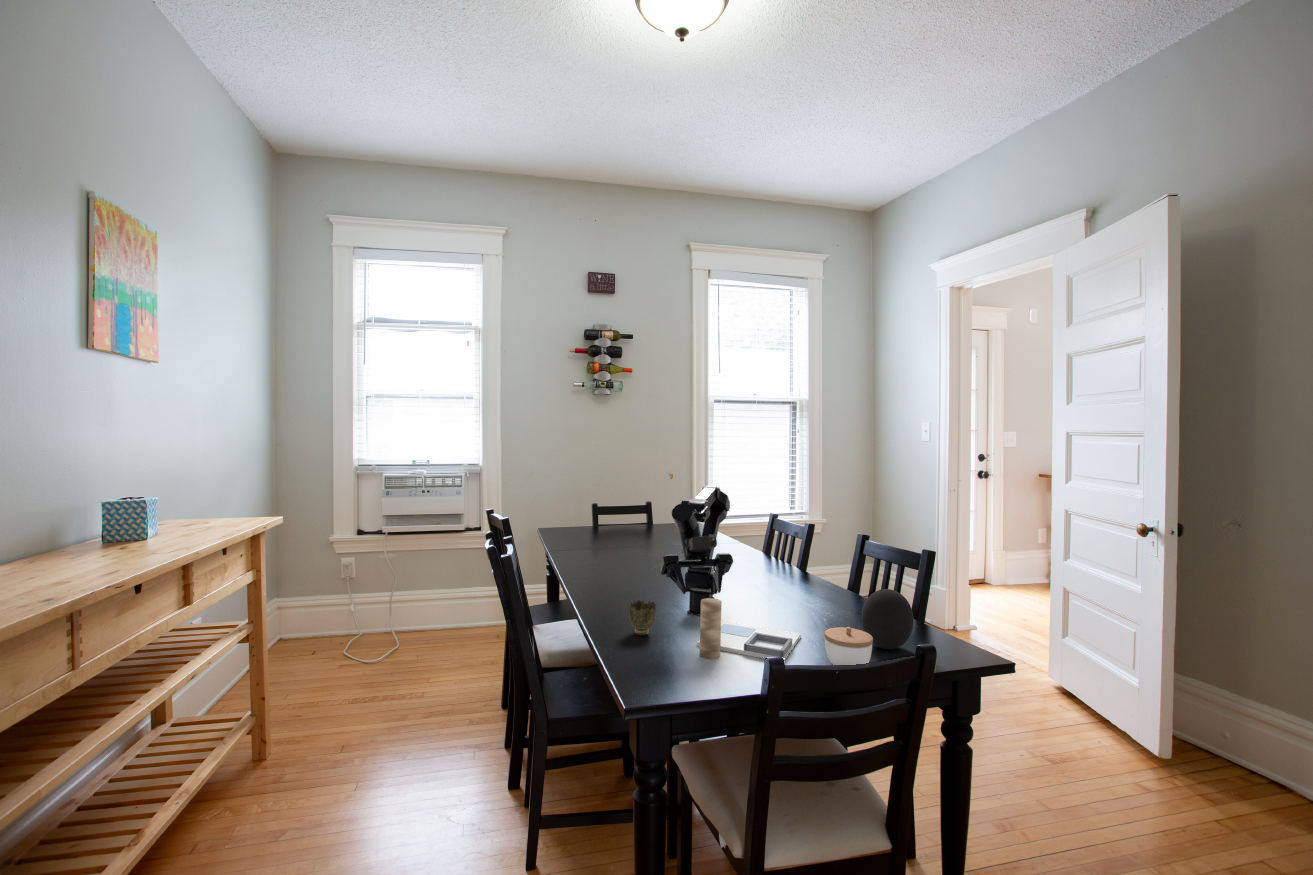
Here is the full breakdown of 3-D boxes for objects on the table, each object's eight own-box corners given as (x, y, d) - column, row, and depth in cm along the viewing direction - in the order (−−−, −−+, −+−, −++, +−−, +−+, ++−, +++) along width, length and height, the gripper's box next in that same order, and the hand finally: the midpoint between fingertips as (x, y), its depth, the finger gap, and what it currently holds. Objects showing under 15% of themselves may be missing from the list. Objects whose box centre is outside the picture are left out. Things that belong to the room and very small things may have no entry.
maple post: (696, 656, 145) (697, 602, 145) (703, 649, 150) (705, 597, 149) (716, 659, 143) (717, 605, 143) (723, 653, 148) (724, 600, 147)
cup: (659, 631, 162) (660, 601, 162) (650, 640, 155) (651, 609, 155) (633, 627, 165) (634, 598, 164) (623, 636, 158) (624, 605, 158)
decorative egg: (868, 636, 162) (870, 580, 162) (917, 646, 155) (919, 588, 155) (854, 649, 152) (856, 590, 152) (906, 661, 145) (908, 599, 145)
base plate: (696, 645, 152) (696, 635, 152) (721, 624, 169) (722, 615, 169) (783, 662, 143) (783, 651, 143) (800, 637, 160) (800, 628, 160)
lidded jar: (836, 678, 134) (837, 636, 134) (815, 659, 145) (817, 620, 145) (881, 676, 136) (882, 634, 136) (857, 657, 147) (858, 619, 146)
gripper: (663, 523, 156) (672, 576, 146) (731, 523, 160) (745, 574, 150) (656, 548, 164) (664, 600, 153) (721, 546, 168) (734, 597, 157)
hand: (702, 592), depth 153 cm, fingers open, 9 cm apart
